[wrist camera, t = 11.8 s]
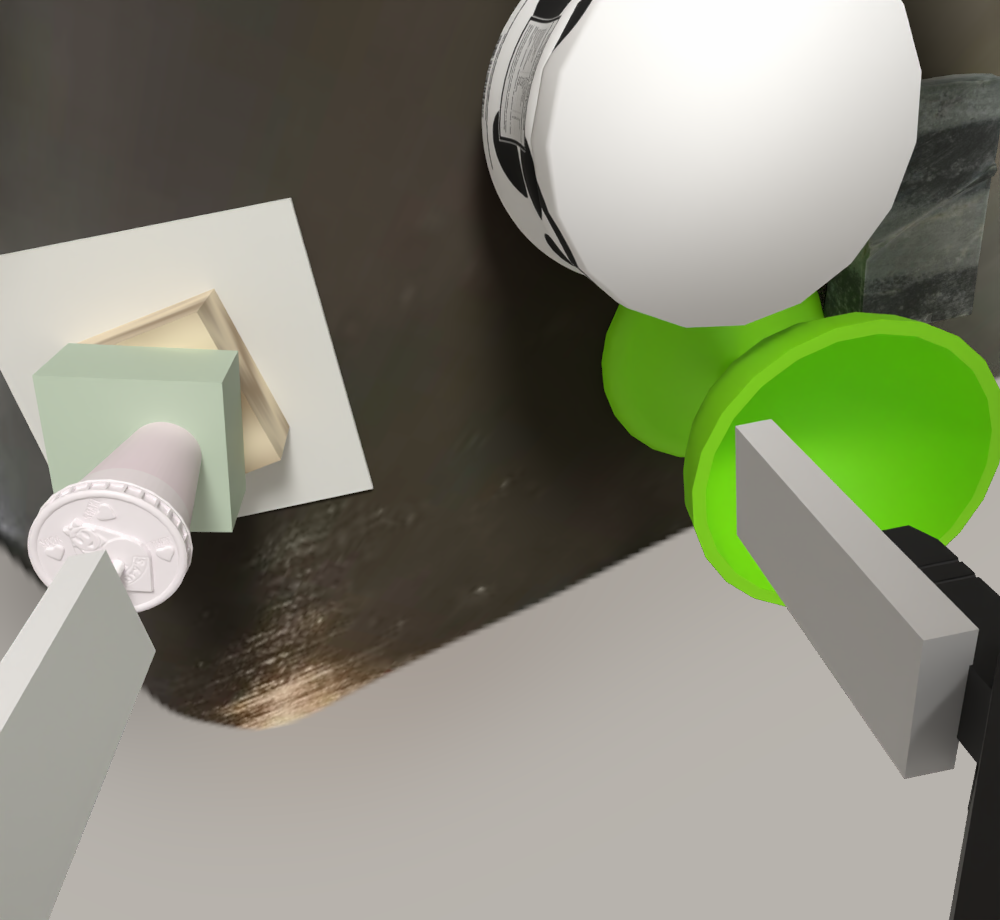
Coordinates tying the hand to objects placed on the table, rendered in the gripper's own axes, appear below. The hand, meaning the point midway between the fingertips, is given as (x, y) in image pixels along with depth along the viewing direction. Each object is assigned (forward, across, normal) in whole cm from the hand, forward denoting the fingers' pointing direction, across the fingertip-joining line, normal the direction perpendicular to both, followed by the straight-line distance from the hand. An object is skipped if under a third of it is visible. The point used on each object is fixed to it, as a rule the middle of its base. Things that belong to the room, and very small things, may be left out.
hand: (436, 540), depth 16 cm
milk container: (+36, +13, +3) cm, 39 cm away
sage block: (+30, -17, -8) cm, 35 cm away
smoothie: (+25, -15, -8) cm, 30 cm away
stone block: (+37, +31, -5) cm, 48 cm away
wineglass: (+36, +19, -13) cm, 43 cm away
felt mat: (+35, -17, -8) cm, 40 cm away
